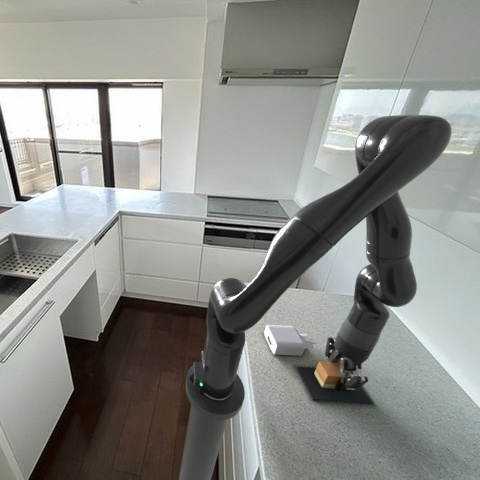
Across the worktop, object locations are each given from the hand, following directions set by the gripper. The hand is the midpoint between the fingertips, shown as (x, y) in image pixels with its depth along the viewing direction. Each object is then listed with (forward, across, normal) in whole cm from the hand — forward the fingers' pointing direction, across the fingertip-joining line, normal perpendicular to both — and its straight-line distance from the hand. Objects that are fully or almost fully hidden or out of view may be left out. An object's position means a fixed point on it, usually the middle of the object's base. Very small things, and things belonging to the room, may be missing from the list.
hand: (333, 381), depth 72 cm
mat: (+2, 0, 0) cm, 2 cm away
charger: (+2, -14, -6) cm, 15 cm away
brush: (0, 0, 0) cm, 0 cm away
